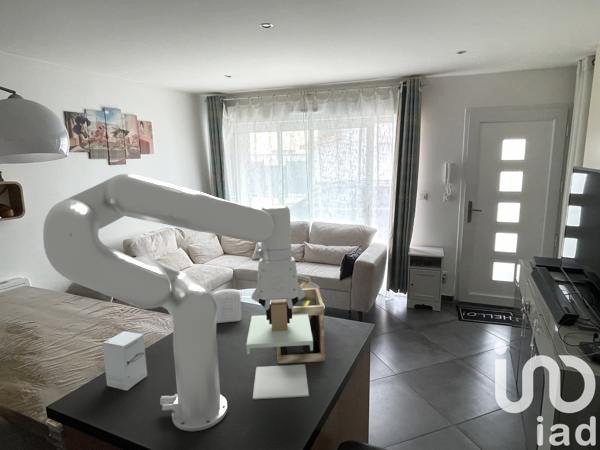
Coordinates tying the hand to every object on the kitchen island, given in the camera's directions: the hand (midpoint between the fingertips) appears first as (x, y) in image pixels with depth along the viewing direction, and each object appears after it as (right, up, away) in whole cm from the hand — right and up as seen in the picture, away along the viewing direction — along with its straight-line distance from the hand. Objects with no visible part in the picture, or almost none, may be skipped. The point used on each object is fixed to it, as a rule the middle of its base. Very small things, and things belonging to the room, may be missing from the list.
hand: (279, 321), depth 94 cm
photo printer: (-22, -11, +42) cm, 49 cm away
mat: (0, -17, +3) cm, 17 cm away
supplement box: (-42, -18, +5) cm, 46 cm away
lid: (0, -4, +1) cm, 4 cm away
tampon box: (+5, -14, +20) cm, 25 cm away
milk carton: (+5, -12, +37) cm, 39 cm away
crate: (+5, -14, +20) cm, 25 cm away
